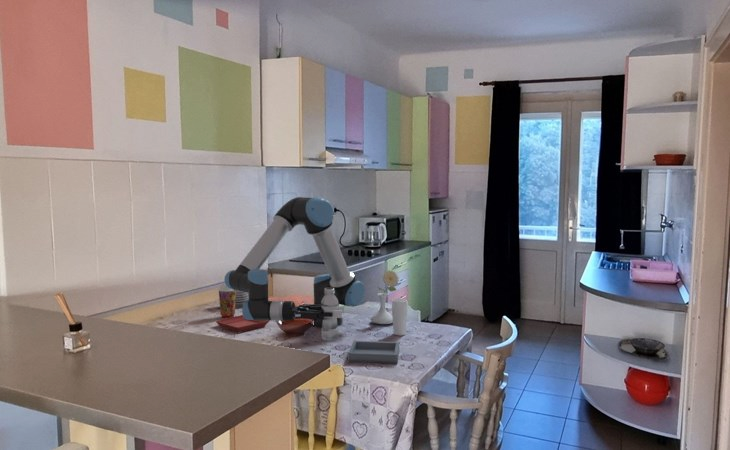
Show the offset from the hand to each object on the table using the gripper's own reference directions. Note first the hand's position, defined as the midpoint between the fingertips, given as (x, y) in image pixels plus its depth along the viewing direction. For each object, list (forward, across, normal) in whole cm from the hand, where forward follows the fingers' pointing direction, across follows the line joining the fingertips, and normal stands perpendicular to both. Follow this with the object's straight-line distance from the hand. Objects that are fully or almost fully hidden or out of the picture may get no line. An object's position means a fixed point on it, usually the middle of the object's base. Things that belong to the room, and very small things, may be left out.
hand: (342, 311), depth 212 cm
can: (-68, -76, -18) cm, 104 cm away
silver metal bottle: (-5, 0, -11) cm, 12 cm away
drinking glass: (+20, -32, -18) cm, 41 cm away
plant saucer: (-52, -37, -18) cm, 66 cm away
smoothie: (-65, -53, -17) cm, 86 cm away
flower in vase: (+12, -50, -18) cm, 54 cm away
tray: (+12, 0, -17) cm, 21 cm away
